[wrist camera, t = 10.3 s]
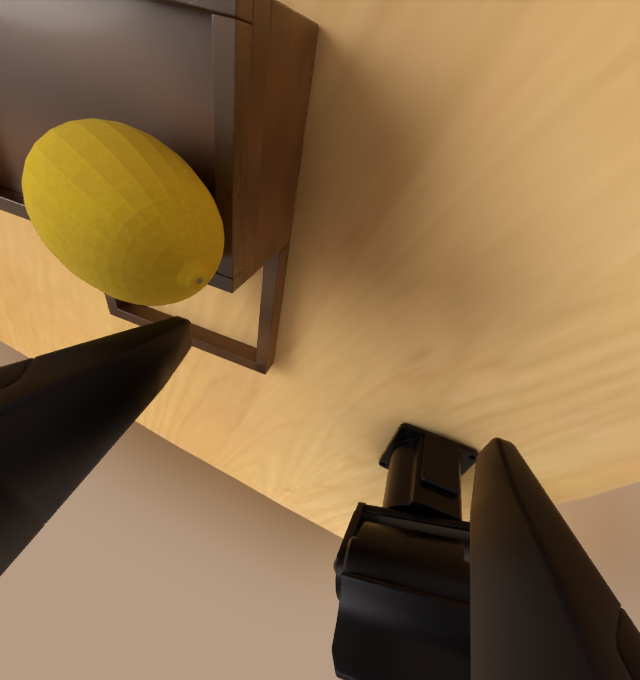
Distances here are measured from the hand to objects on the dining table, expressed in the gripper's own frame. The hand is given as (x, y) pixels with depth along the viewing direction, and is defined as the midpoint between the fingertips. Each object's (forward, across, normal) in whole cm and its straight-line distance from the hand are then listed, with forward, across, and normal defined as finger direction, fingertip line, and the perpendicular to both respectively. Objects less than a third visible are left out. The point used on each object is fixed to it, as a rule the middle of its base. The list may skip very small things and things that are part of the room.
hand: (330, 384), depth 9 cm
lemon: (+4, +13, -2) cm, 14 cm away
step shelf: (+12, +13, +2) cm, 18 cm away
